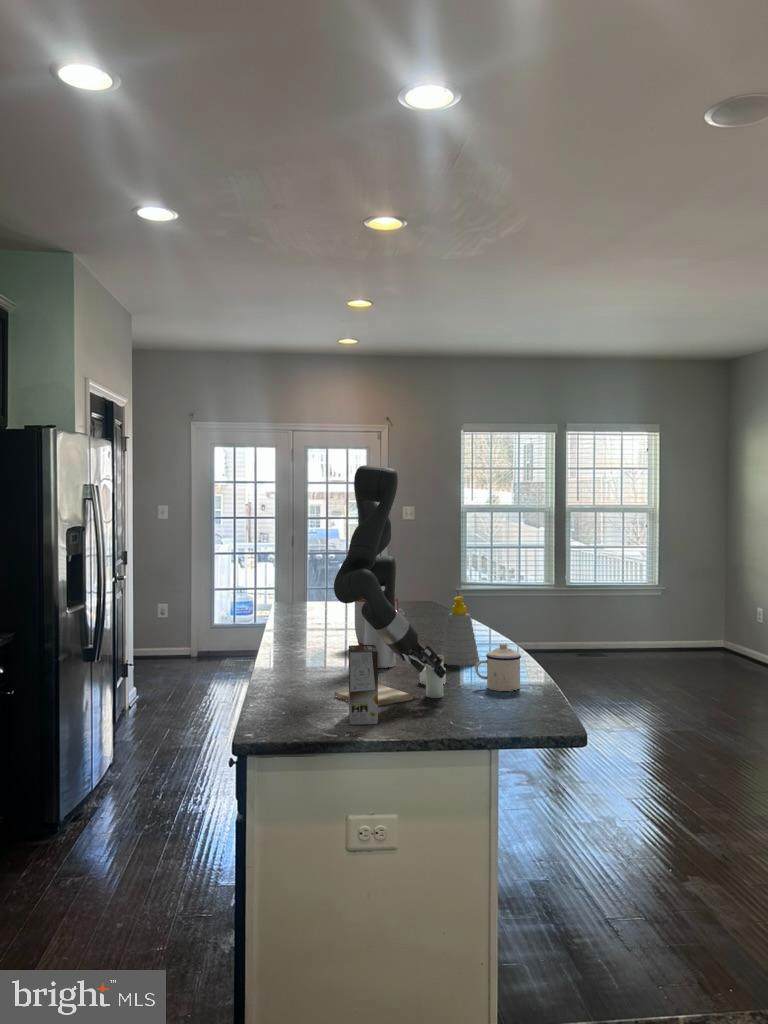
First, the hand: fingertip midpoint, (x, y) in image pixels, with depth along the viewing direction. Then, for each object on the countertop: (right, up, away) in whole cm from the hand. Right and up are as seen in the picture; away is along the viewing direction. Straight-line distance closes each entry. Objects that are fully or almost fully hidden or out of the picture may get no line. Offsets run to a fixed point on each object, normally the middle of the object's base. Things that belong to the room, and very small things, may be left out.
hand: (432, 672), depth 195 cm
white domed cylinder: (+1, -6, +15) cm, 17 cm away
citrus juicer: (-14, -6, +70) cm, 71 cm away
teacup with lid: (+18, -6, +9) cm, 21 cm away
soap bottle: (+11, -6, +44) cm, 46 cm away
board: (-15, -6, -2) cm, 16 cm away
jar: (+1, -6, 0) cm, 6 cm away
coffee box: (-17, -6, -22) cm, 28 cm away
